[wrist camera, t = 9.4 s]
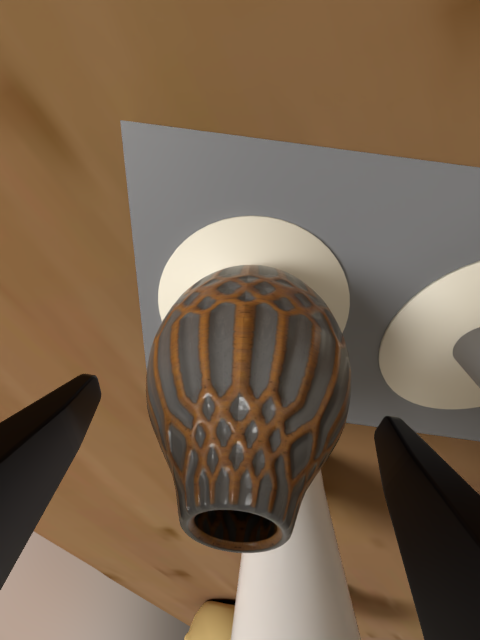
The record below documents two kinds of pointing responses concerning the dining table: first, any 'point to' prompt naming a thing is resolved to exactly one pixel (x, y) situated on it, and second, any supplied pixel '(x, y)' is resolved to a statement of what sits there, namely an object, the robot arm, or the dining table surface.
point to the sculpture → (212, 622)
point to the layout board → (326, 255)
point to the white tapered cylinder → (297, 583)
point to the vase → (246, 403)
